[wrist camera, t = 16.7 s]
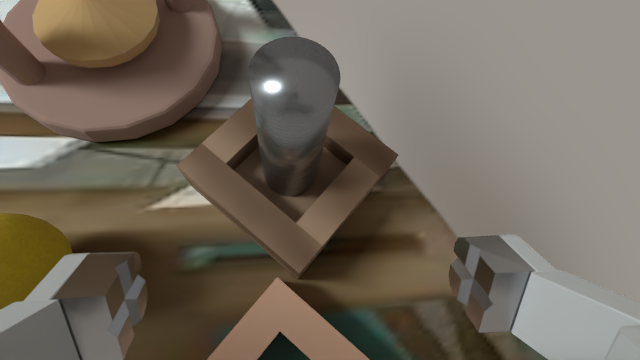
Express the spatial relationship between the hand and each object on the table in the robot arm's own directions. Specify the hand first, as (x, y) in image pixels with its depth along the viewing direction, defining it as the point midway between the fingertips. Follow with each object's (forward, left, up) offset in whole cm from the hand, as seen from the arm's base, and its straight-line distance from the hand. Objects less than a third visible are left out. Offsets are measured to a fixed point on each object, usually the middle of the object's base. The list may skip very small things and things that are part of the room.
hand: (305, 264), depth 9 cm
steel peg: (+7, +6, -16) cm, 18 cm away
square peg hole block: (+7, +6, -18) cm, 20 cm away
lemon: (-9, +14, -18) cm, 24 cm away
